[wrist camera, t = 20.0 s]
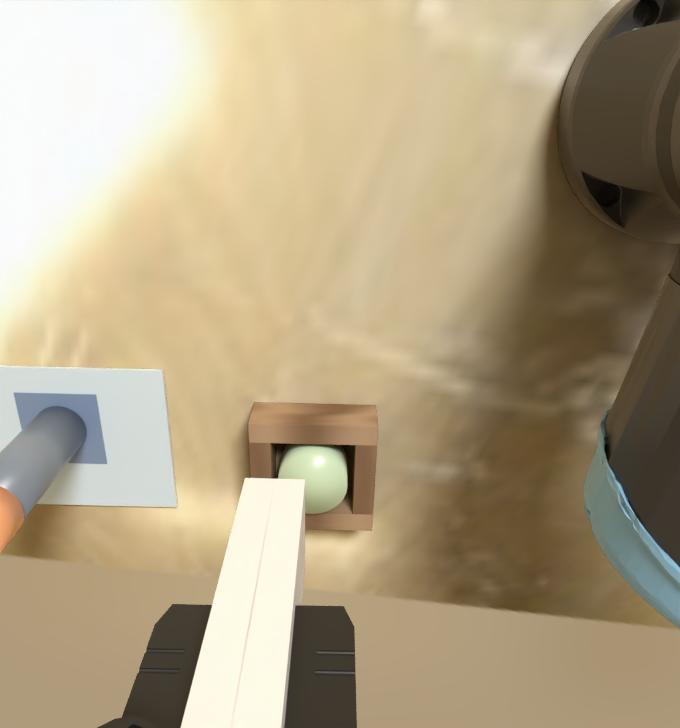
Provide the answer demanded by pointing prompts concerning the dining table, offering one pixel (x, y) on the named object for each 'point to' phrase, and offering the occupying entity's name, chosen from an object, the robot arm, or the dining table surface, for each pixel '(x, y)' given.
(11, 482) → the marker
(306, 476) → the button
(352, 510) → the button housing
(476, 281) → the dining table surface
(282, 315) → the dining table surface
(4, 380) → the sketch pad
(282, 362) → the dining table surface
